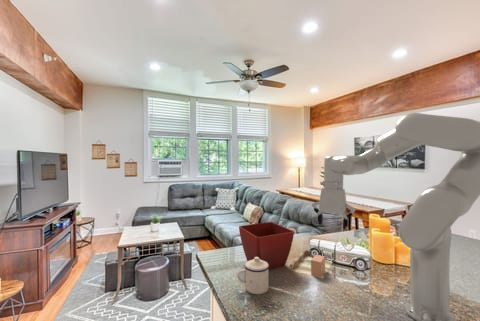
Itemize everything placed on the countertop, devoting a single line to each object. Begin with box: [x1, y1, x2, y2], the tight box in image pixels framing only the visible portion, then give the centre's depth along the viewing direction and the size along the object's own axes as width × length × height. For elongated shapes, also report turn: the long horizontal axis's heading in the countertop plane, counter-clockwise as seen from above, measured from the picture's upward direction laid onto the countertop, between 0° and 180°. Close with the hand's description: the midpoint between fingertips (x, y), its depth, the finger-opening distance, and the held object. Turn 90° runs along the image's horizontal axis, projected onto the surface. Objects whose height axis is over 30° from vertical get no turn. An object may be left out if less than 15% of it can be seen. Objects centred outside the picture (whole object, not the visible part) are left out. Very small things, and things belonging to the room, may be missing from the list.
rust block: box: [310, 255, 325, 278], centre depth 102 cm, size 7×4×6 cm, turn 148°
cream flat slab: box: [289, 249, 333, 279], centre depth 109 cm, size 21×14×3 cm, turn 148°
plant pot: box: [238, 221, 295, 271], centre depth 111 cm, size 19×19×17 cm
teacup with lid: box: [236, 257, 270, 295], centre depth 91 cm, size 12×9×12 cm
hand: (332, 226), depth 101 cm, fingers open, 9 cm apart
